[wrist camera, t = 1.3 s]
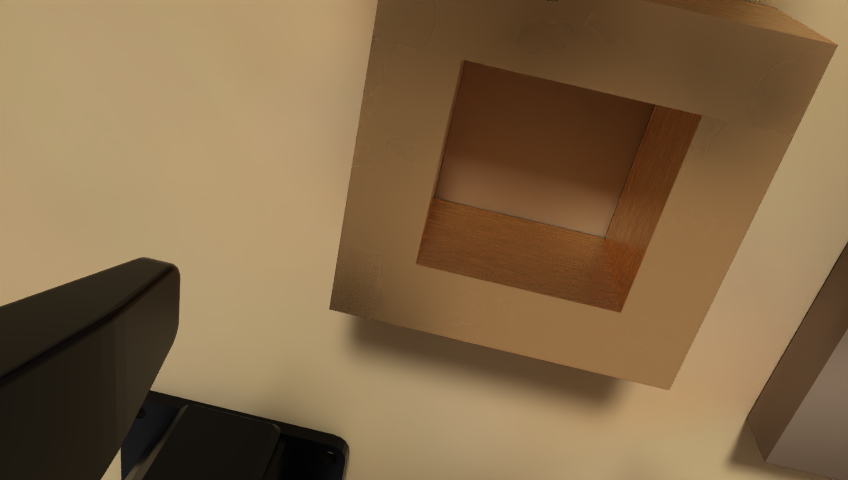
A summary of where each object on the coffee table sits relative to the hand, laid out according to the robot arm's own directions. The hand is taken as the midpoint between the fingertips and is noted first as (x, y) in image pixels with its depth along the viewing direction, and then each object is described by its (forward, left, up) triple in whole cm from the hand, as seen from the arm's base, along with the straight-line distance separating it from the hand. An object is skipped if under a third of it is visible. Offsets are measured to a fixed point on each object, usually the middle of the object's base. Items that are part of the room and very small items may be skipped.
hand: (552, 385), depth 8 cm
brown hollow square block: (0, 0, -8) cm, 8 cm away
